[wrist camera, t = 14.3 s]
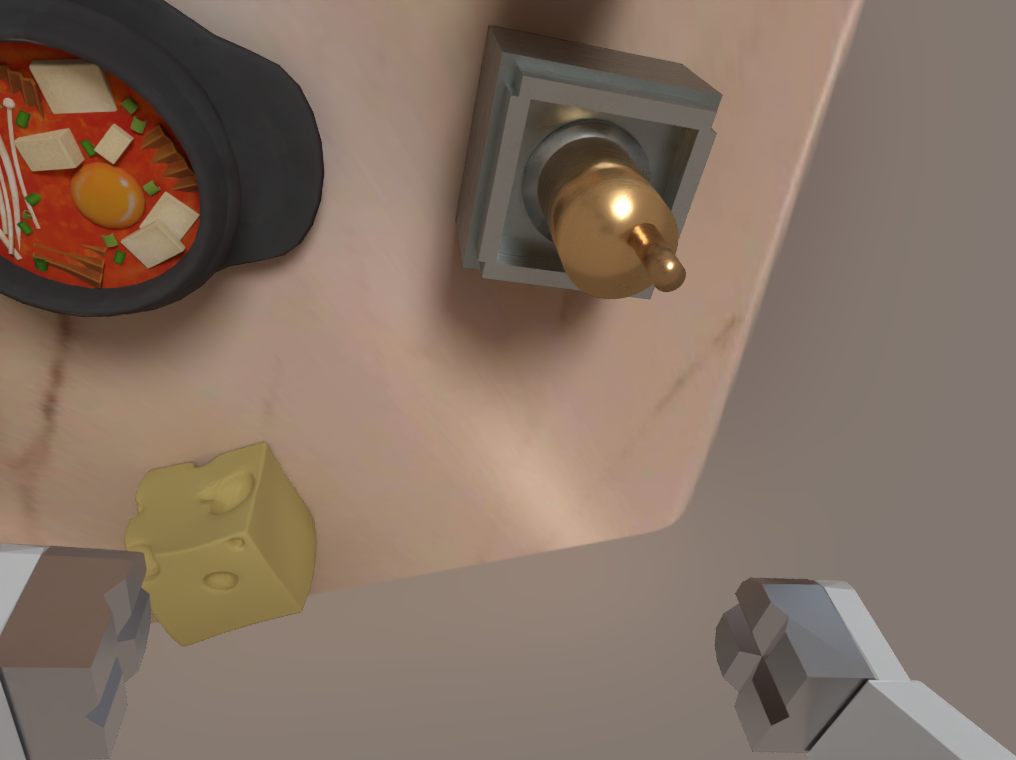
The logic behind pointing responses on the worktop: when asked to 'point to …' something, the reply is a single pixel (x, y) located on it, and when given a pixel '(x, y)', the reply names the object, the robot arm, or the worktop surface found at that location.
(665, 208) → the spout can
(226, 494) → the cheese
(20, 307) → the worktop surface
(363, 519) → the worktop surface
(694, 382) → the worktop surface
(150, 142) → the casserole
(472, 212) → the grey square box
